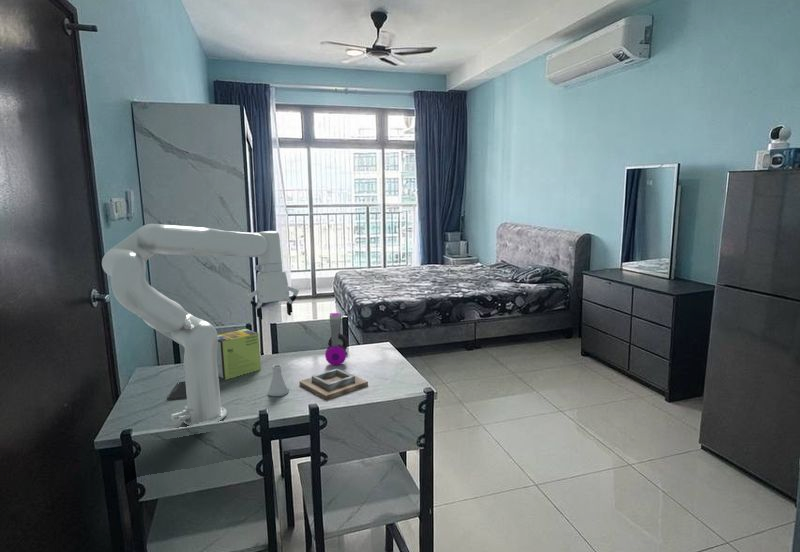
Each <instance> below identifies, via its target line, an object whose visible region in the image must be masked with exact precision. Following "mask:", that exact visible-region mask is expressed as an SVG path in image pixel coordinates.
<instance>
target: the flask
mask: <svg viewBox="0 0 800 552" xmlns="http://www.w3.org/2000/svg"><path fill="white" fill-rule="evenodd" d="M282 366H283V365H282V364H273V365H272V367H271V369H272V371H273V373H272V378H271V379H272V380H271V382H270V385H269V389H268V392H267V395H268V396H270V397H282V396H283V397H284V396H285V395H287V394H288V393H289V391H290V388H289V387H288V384H287V383H286V381H285V378H284V376H283V372H282Z"/></svg>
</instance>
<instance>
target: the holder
mask: <svg viewBox="0 0 800 552" xmlns="http://www.w3.org/2000/svg"><path fill="white" fill-rule="evenodd" d="M298 384H299V386H300V387H302V388H304V389H305V390H307V391H309V392H312V393H313V394H315V395H317V396H318V397H320V398H322V399H324V400H325V401H328V400H330V399H333V398H335V397H338V396H341V395H344V394H347V393H351V392H353V391H356V390H359V389H362V388H365V387H367V386H369V382H368V380H365V379H363V378H361V377H359V376H356V375H354V374H352V373H350V372H347V371H345V370H343V369H341V368H334V369H330V370H327V371H324V372H320V373H317V374H313V375H312V376H311V377H309V378H306V379H302V380H299V383H298Z"/></svg>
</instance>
